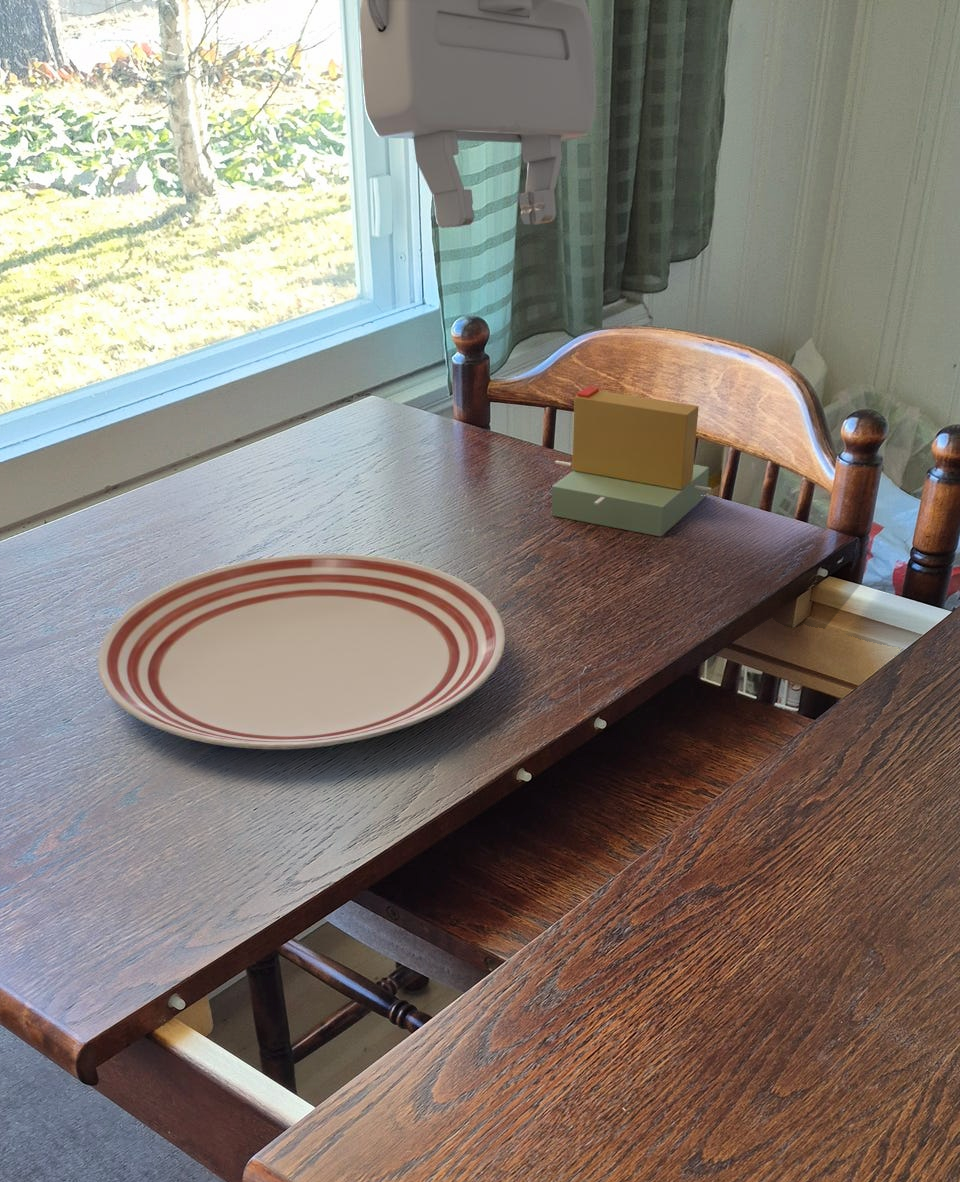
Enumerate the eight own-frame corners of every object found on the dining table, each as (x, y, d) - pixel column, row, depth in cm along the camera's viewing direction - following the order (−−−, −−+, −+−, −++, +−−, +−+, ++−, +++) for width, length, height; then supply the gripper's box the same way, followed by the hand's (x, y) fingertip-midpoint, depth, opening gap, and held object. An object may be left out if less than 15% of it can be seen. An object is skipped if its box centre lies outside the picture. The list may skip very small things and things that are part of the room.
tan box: (692, 480, 119) (699, 402, 115) (681, 490, 118) (688, 411, 114) (583, 461, 123) (586, 385, 119) (571, 470, 121) (574, 393, 117)
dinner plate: (407, 817, 85) (405, 768, 83) (23, 736, 93) (11, 689, 91) (560, 627, 104) (561, 583, 102) (230, 573, 112) (225, 531, 110)
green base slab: (738, 492, 124) (741, 461, 122) (674, 551, 115) (677, 518, 113) (589, 466, 129) (590, 435, 127) (517, 520, 120) (517, 488, 118)
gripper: (409, -90, 73) (445, 220, 79) (605, -44, 88) (622, 214, 94) (315, -58, 76) (356, 237, 82) (518, -19, 91) (540, 228, 97)
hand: (499, 225), depth 88 cm, fingers open, 8 cm apart
